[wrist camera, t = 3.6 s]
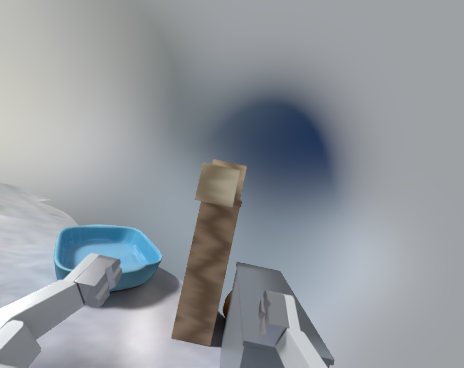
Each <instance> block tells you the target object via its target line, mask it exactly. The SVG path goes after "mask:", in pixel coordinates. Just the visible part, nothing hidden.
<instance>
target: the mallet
mask: <svg viewBox="0 0 464 368" xmlns="http://www.w3.org/2000/svg"><path fill="white" fill-rule="evenodd" d="M246 168H247V166H242V165H238V164H233V163H228V162H224V161H219V160H213V163H212V164H208V163H204V162H203V165H202V170H201V174H200V179H199V184H198V188H197V192H196V197H195V200H200V201H204V202H209V203H213V204H218V205H223V206H227V207H233V202H234V199H237V200H240V197H241V192H242V187H243V182H244V178H245V172H246Z"/></svg>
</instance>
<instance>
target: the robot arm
mask: <svg viewBox="0 0 464 368" xmlns="http://www.w3.org/2000/svg"><path fill="white" fill-rule="evenodd" d="M120 264H121V261H120V259H117V258H112V257H108V256H103V255H100V254H95V253H91V254H89V255H87V256H86V257H85V258H84V259H83V260H82V261H81V262H80V263H79V264H78V265H77V266H76V267H75V268H74V269H73V270H72V271H71V272H70V273H69V274H68V275H67V276H66V277H65V278H64V279H63V280H58V281H56V282H54V283H52V284H50V285H48V286H46V287H44V288H42V289H40V290H38V291H36V292H34V293H32V294H29V295H27V296H25V297H23V298H21V299H19V300H17V301H15V302H13V303H11V304H9V305H7V306H5V307H3V308H1V309H0V368H28V367H29V365H30V364H31V363H32V362H33V360H34V359H35V358H36V357H37V355H38V354H39V353H40V352H41V347H40V346H39V344H38V343H37V341H36V340H37V339H38V338H39V337H41V336H42V335H44V334H45V333H46V332H48V331H49V330H51V329H52V328H53V327H55V326H56V325H58V324H59V323H60V322H62V321H63V320H65V319H66V318H67V317H69V316H70V315H72V314H73V313H75V312H76V311H77V310H79V309H80V308H82V307H83V306H84V305H89V306H94V307H100V308H101V306H102V305H103V304H104V302H105V301H106V299H107V298H108V296H109V295H110V289H112V288H114V287H115V286H116V285H117V283H118V282H119V280H120V278H121V275H122V268H121V267H120V266H119V265H120ZM259 319H260V321H261V323H260V325H259V342H262V343H266V344H270V345H274V346H275V347H276V350H277V352H278V354H279V356H280V358H281V360H282V363H283V365H284V367H285V368H328V367H327V366H326V364H325V363H324V361H323V360H322V358H321V357H320V356H319V354H318V353H317V351H316V350H315V348H314V347H313V345H312V344H311V342H310V341H309V339H308V338H307V336H306V335H305V333H304V332H302V331H301V330H300V325H299V320H298V315H297V310H296V305H295V300H294V297H293V296H291V295H286V294H283V293H278V292H272V291H267V290H265V291H264V293H263V298H261V300H260V303H259Z"/></svg>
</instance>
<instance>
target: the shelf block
mask: <svg viewBox="0 0 464 368" xmlns="http://www.w3.org/2000/svg"><path fill="white" fill-rule="evenodd" d="M241 204H242V201H241V200H237V199H234V202H233V207H227V206H223V205H218V204H213V203H209V202H204V201H201V204H200V209H199V213H198V218H197V223H196V227H195V232H194V236H193V241H192V246H191V250H190V255H189V259H188V264H187V268H186V273H185V277H184V282H183V287H182V291H181V296H180V300H179V305H178V309H177V314H176V318H175V323H174V328H173V332H172V337H171V338H173V339H178V340H182V341H187V342H192V343H196V344H201V345H206V346H210V345H211V340H212V335H213V331H214V326H215V321H216V316H217V312H218V307H219V302H220V297H221V292H222V288H223V283H224V279H225V274H226V269H227V264H228V260H229V255H230V249H231V245H232V240H233V236H234V231H235V227H236V222H237V217H238V212H239V208H240V207H241Z"/></svg>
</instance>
